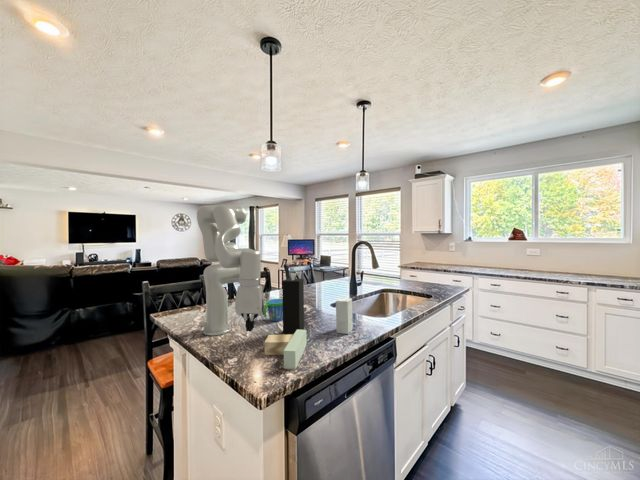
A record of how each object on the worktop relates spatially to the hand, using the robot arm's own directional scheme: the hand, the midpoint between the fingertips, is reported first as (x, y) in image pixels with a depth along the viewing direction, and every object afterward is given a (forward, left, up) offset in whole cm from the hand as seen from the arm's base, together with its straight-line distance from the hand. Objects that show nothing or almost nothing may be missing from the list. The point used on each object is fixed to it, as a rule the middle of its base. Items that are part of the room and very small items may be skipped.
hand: (249, 329), depth 103 cm
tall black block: (+12, +21, -9) cm, 26 cm away
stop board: (+18, -1, -9) cm, 20 cm away
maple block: (+11, +3, -9) cm, 14 cm away
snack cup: (-2, +41, -9) cm, 42 cm away
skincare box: (+35, +27, -9) cm, 45 cm away
